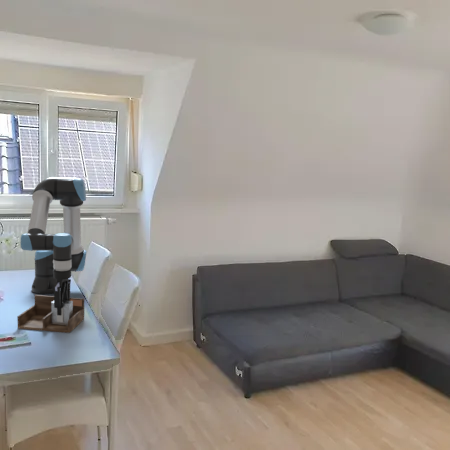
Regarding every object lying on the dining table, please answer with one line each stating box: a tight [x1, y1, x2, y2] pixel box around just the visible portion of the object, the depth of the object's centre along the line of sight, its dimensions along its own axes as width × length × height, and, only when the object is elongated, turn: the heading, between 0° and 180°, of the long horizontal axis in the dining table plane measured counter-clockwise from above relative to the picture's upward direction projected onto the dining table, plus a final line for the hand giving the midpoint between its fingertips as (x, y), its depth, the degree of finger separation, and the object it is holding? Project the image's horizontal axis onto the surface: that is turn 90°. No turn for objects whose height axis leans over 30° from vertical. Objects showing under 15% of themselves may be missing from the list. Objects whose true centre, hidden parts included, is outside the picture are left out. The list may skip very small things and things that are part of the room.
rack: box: [16, 294, 85, 334], centre depth 220 cm, size 17×23×10 cm
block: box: [52, 300, 73, 325], centre depth 217 cm, size 4×8×10 cm, turn 85°
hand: (62, 319), depth 218 cm, fingers closed on block, 4 cm apart
